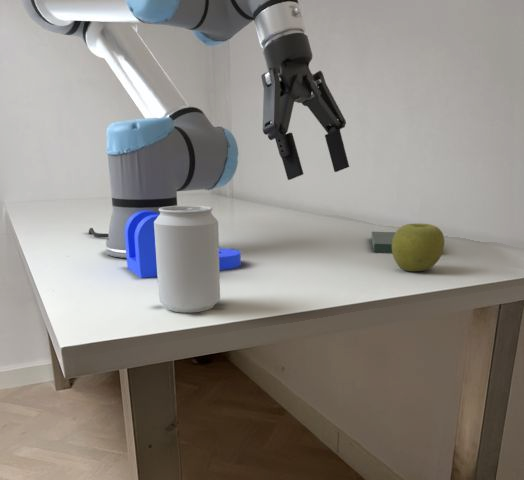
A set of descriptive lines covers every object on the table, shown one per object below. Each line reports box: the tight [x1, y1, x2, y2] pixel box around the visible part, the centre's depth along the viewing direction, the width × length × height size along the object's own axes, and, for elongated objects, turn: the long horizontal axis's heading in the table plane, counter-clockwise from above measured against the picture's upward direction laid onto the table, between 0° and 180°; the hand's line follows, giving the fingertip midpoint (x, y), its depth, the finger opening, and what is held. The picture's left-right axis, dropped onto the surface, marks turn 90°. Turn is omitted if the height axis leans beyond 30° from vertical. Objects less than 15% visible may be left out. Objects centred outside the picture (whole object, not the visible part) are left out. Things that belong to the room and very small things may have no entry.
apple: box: [392, 223, 445, 272], centre depth 87 cm, size 8×8×7 cm
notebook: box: [370, 231, 396, 254], centre depth 110 cm, size 12×16×2 cm
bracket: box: [125, 210, 242, 279], centre depth 89 cm, size 18×8×9 cm, turn 117°
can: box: [154, 205, 221, 314], centre depth 66 cm, size 8×8×12 cm
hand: (320, 173), depth 92 cm, fingers open, 13 cm apart
